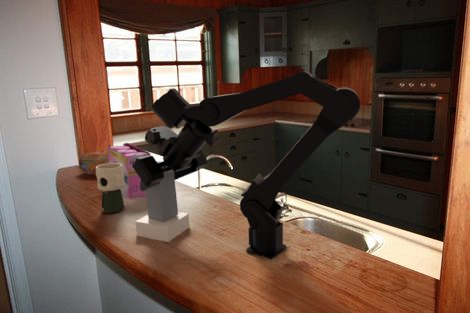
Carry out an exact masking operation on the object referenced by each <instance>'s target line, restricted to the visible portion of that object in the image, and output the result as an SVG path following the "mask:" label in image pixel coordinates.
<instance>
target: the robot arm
mask: <svg viewBox="0 0 470 313" xmlns="http://www.w3.org/2000/svg"><path fill="white" fill-rule="evenodd" d="M299 94H300V95H303V96H304V97H306V98H308V99H310V100H311V101H313V102H314V103H316V104H317V105H319V106H322V109H321V110H320V112H319V113H318V115H317V117H316V119H315V120H314V122H313V123H312V125H311V126H309V128H308V129H307V131H306V132H305V133H304V134H303V135H302V136H301V137H300V139H299V140H298V141H297V142H296V143H295V144H294V146H293V147H292V148H291V149H290V150H289V151H288V152H287V154H286V155H285V156H284V157H283V158H282V159H281V161H280V162H279V163H278V164H277V165H276V167H275V168H273V170H272V171H271V172H270V173H269V174H267V175H266V176H264V177H263V175H262V174H261V173H258V174H257V176H256V177H255V178H254V179H253V181H251V183H250V184H249V185H248V186H247V187H246V188H245V189H244V191H243V192H242V193H241V194H240V196H241V197H242V198H241V200H240V202H239V209H240V212H241V214H242V215H243V216H244V218H246V220H247V222H248V225H249V227H248V247H247V248H245V249H246V250H245V252H247V253H250V254H253V255H256V256H260V257H263V258H267V259H271V260H273V259H275V258H276V257H278V255H279V254H280V253H283V251H285V249H287V245H286V244H284V223H283V222H280V220H279V219H280V218H281V216H282V213H283V211H284V207H283V206H282V205H281V204H280V203H279V202H278V201H277V199H276V198H277V197H278V195H279V193H280V192H281V190H282V188H283V187H284V186H285V185H286V184H287V183H288V181H289V180H291V178H293V176H294V175H295V174H296V173H297V172H298V170H299V169H301V167H302V166H303V165H304V164H305V163H306V162H307V160H308V159H309V158H310V157H311V156H312V155H313V154H314V152H316V150H318V148H319V147H320V146H321V145H322V144H323V142H325V141H326V139H327V138H328V137H329V136H332V134H334V133H336V132H337V131H338V130H340V129H341V128H342V127H344V126H345V125H346V124H348V123H349V122H350V121H351V120H352V119H354V118H356V116H357V115H358V113H359V112H360V110H361V101H360V98H359V95H358V93H357V92H356V90H354V89H352V88H350V87H345V86H343V87H337V86H335V85H332V84H330V83H329V82H326V81H324V80H322V79H320V78H318V77H316V76H314V75H312V73H311V72H308V71H305V70H304V71H298V72H296V73H294V74H293V75H290V76H287V77H284V78H281V79H278V80H275V81H272V82H269V83H266V84H263V85H260V86H258V87H253V88H252V89H249V90H245V91H242V92H238V93H237V92H235V93H228V94H222V95H216V96H215V95H214V96H211V97H206V98H203V99H202V100H200V102H199V103H194V104H190V103H189V102H188V100H186V99H185V98H184V96H182V95H181V94H180V91H178V90H177V89H176V88H173V87H172V88H169V89H168V91H167V92H166V93H163V94H162V95H161V96H160V97H159V98H157V99H155V101H154V102H153V104H152V106H151V108H150V110H151V111H152V112H153V113H154V115H156V117H157V118H158V119H160V120H161V121H162V123H164V124H165V125H166V126H165V125H161V126H155V127H151V128H150V129H148V130H147V132H146V133H145V137H144V141H145V142H146V143H147V144H149V145H150V146H155V147H156V148H158V151H157V153H158V154H159V156H161V157H162V159H163V162H159V163H157V161H158V160H156V159H155V157H154V155H151V156H150V155H147V156H143V157H139V158H136V159H135V161H134V162H133V164H132V167H133V168H134V170H135V171H136V173H137V174H138V176H139V177H140V179H141V181H140V189H141V191H145V190H147V189H149V188H151V187H153V186H155V185H157V184H160V181H162V180H163V178H164V173H166V172H169V171H172V170H173V171H174V178H175V181H176V180H178V179H181V178H183V177H185V176H189V175H191V174H194V173H196V172H198V171H200V170H202V169H204V168H205V167H206V166H207V164H208V158H207V156H206V155H205V154H204V153H203V151H202V150H201V149H202V148H203V147H204V145H205V144H208V146H210V147H213V146H214V145H216V144H217V143H218V142H220V141H221V138H220V135H219V130H217V129H213V128H212V127H216V126H218V125H221V124H223V123H225V122H226V123H227V121H229V120H231V119H233V118H235V117H237V116H239V115H241V114H242V113H244V112H246V111H248V110H251V109H254V108H257V107H260V106H264V105H268V104H270V103H273V102H276V101H277V102H278V101H280V100H283V99H286V98H289V97H293V96H297V95H299ZM181 127H182V128H181ZM173 128H176V129H178V130H179V129H180V128H181V130H180V131H179V132H178V133H177V132H175V131H174V130H172V129H173Z"/></svg>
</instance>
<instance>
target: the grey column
mask: <svg viewBox="0 0 470 313" xmlns="http://www.w3.org/2000/svg"><path fill="white" fill-rule="evenodd" d="M156 161H157V163H159V162H163V161H161V160H156ZM145 194H146V196H145V200H146V207H147V208H146V209H147V215H148V218H150V219H153V220H156V221H160V222H165V221H167V220H169V219H171V218H173V217H175V216H177V215H178V212H179V209H178V200H177V199H178V197H177V189H176V180H175V178H174V171H173V170H172V171H169V172H166V173H164V178H163V180H162V181H160V184H157V185H155V186H153V187H151V188H149V189H147V190H145Z"/></svg>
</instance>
